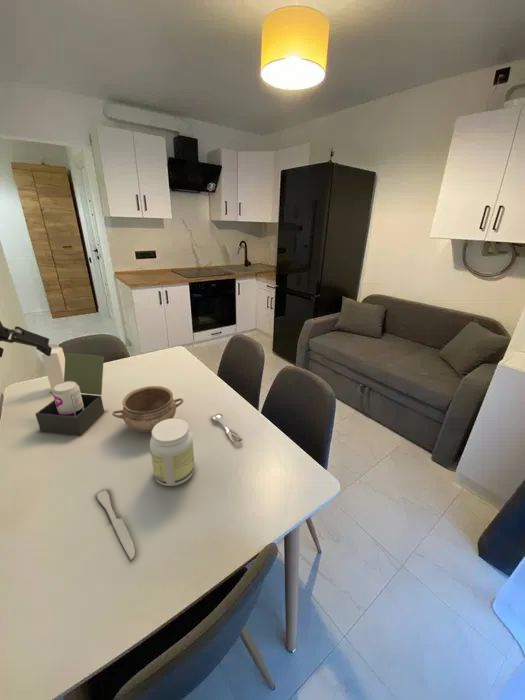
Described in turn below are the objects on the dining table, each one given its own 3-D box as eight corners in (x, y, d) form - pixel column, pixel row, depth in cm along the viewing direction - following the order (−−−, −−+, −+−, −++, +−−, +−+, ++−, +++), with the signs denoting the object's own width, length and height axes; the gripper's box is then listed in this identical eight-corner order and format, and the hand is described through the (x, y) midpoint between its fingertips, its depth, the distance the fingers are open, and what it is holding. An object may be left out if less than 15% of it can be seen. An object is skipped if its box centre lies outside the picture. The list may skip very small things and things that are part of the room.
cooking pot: (116, 450, 99) (110, 420, 94) (115, 418, 114) (110, 391, 109) (189, 432, 109) (187, 404, 104) (180, 405, 124) (178, 380, 119)
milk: (57, 385, 134) (45, 341, 125) (72, 384, 136) (60, 340, 127) (51, 392, 129) (38, 347, 120) (67, 391, 130) (55, 346, 121)
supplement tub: (195, 456, 98) (192, 414, 91) (193, 486, 87) (190, 441, 80) (157, 459, 96) (152, 417, 89) (151, 490, 85) (144, 445, 78)
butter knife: (106, 488, 84) (95, 494, 82) (139, 553, 68) (126, 562, 66) (107, 489, 84) (96, 495, 82) (139, 554, 68) (126, 563, 66)
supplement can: (65, 429, 106) (55, 394, 100) (58, 419, 111) (48, 385, 105) (89, 419, 112) (81, 386, 106) (81, 410, 117) (73, 378, 111)
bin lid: (102, 356, 114) (103, 356, 114) (65, 353, 115) (66, 353, 115) (100, 395, 114) (101, 394, 115) (63, 391, 115) (64, 391, 116)
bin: (81, 435, 104) (76, 417, 101) (40, 431, 105) (35, 413, 102) (104, 411, 118) (101, 395, 115) (68, 408, 119) (64, 392, 116)
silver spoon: (245, 434, 103) (234, 439, 100) (246, 442, 104) (234, 447, 102) (219, 409, 118) (208, 413, 116) (219, 416, 119) (209, 420, 117)
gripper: (-90, 337, 69) (-23, 365, 88) (28, 335, 73) (67, 362, 93) (-80, 309, 71) (-17, 342, 91) (34, 309, 76) (70, 341, 95)
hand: (25, 352), depth 92 cm, fingers open, 13 cm apart
